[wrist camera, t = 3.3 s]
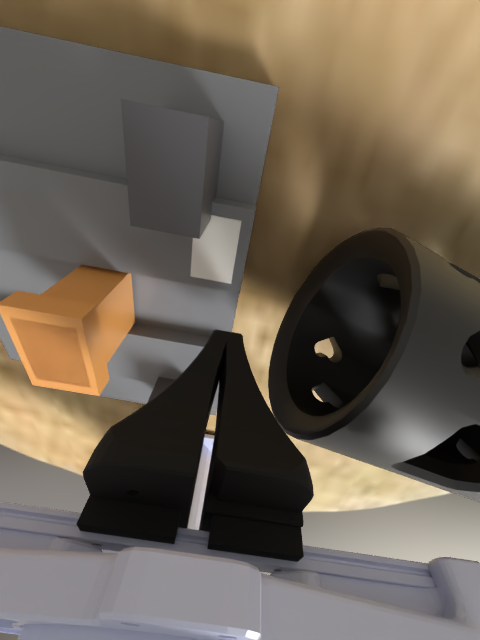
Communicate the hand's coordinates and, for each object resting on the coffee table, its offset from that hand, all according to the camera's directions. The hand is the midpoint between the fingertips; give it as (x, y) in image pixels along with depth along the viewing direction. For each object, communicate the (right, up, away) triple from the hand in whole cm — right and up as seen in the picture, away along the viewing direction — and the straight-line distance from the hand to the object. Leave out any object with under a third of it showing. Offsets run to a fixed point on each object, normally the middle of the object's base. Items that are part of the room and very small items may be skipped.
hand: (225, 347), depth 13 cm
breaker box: (-6, +4, +4) cm, 8 cm away
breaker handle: (-7, +3, +2) cm, 7 cm away
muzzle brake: (+17, -1, +6) cm, 18 cm away
